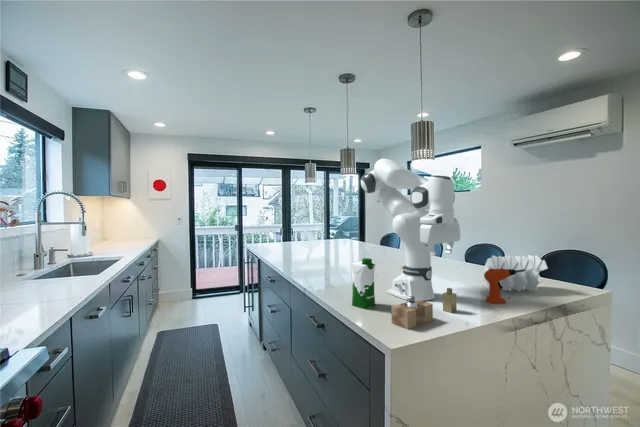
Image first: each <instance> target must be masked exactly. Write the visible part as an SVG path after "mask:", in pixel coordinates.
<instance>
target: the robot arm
mask: <svg viewBox="0 0 640 427" xmlns="http://www.w3.org/2000/svg"><path fill="white" fill-rule="evenodd" d="M453 181H454V180H453V178H452V177H450V176H447V175H435V174H434V175H431V176H430V177H429V179H428V178H425V177H424V176H421V175H419V174H417V173H416V172H413V171H411V170H409V169H408V168H406V167H404V166H403V165H401V164H399V163H397V162H396V161H394V160H392V159H389V158H386V157H385V158H380V159H378V160H377V161H376V162H375V163H374V167H373V170H371V171H369V172H366V173H364V174H363V175H362V176H361V177H360V186H361V188H362V189H363V191H364V192H365V193H367V194H373V193H375V192H376V191H378V200H379V201H380V203H381V205H382V206H383V207H384V209H386V210H387V211H388V213H389V214H390V215H392V217H393V219H392V223H391V226H392V230H393V233H395V234H396V235H397V236H398V238H400V240H401V242H402V244H403V247H404V252H405V253H404V254H405V257H404V258H405V265H404V266H402V267H401V270H402V272H401V274H398V276H397V277H395V278H393V280H392V281H391V287H390V288H388V289H386V293H387V294H389V295H392V296H395V297H396V298H399V299H402V300H405V301H409V296H414V297H415V300H416V299H417V300H420V301H424V302H426V301H431V300H434V299H435V298H436V296H435V293H434V289H433V283H432V276H433V269H432V268H433V267H432V262H431V259H432V258H431V257H436V256H437V251H436V249H435V247H436V245H438V244H445V243H446V244H447V245H446V248H445V254H447V255H449V254H452V252H453V247H454V245H455V242H459V241H460V240H461V228H460V223H459V221H458V219H457V218H456V217H455V208H454V203H455V199H456V197H455V186H454V182H453ZM398 189H401V190H402V189H403V190H411V193H410V199H409V198H407V197H406V196H405V195H404V194H403V193H402V192H400V191H399V190H398Z"/></svg>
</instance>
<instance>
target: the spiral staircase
mask: <svg viewBox="0 0 640 427" xmlns="http://www.w3.org/2000/svg"><path fill="white" fill-rule="evenodd" d="M491 268H492V269H501V268H502V269H507V270H508V269H513V270H522V269H525V271H523V272H518V273H516V274H515V275H511V276H509V277H507V278H505V279H503V280H501V281H499V282H500V284H501V286H502V287H503V288H502V289H501V290H503V291H504V292H507V291H512V289H513V290H516V291H517V292H520V293H521V291H522V290H523V291H524V290H526V289H527V290H529V291H530V292H532V291H533V290H538V287H537V286H538V285H539V284H541V282H540V281H539V275H540V272H542V271H545V270H548V269H549V267H548V265H547V262H546V260H545V259H544V260H542V259H541V258H540V257H539V256H538V255H537V254H535V256H534V255H530V254H527V256H525V255H524V254H522V255H520V256H519V255H515V256H514V255H512V256H509V255H508V254H504V256H501V255H499V256H496V255H494V254H493V255H491V257H489V258H487V259H486V261H485V265H484V268H483V269H484V273H483V275H484V274H485V272H486V271H488V270H489V269H491ZM483 279H484V280H483V281H485V282H484V283H485V285H486V286H487V288H488V289H490V287H489V282H488V281H487V280H486V279H485V278H483Z"/></svg>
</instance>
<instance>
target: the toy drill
mask: <svg viewBox="0 0 640 427" xmlns="http://www.w3.org/2000/svg"><path fill="white" fill-rule="evenodd" d="M523 271H525V269H522V270H513V269H508V270H507V269H502V268H501V269H492V268H491V269H489V270H488V271H486V272H485V274H483V277H484V278H485V279H486V280H487V281H488V282H489V287H490V288H489V293H488V296H486V298H485V301H486V303H488V304H505V303H506V302H507V301H506V299H505V298H504V297H502V296H501V290H503V289H502V288H503V287H502V286H501V284H500V282H499V281H501V280H503V279H505V278H507V277H509V276H511V275H515V274H516V273H518V272H523ZM484 278H483V279H484Z"/></svg>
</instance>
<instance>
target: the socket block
mask: <svg viewBox="0 0 640 427" xmlns="http://www.w3.org/2000/svg"><path fill="white" fill-rule="evenodd" d="M415 301H416V302H417V307H408V306H407V301H406V302H402V303H398V304H396V305H395V304H394V305H391V307H390V308H391V312H390V313H391V324H393V325H394V326H397V327H400V328H403V329H405V330H410V329H412V328H416V327H418V326H421V325H424V324H426V323H429V322H432V321H433V320H434V319H433V318H434V317H433V316H434V314H433V313H434V308H433V306H434V305H433V303H430V302H427V301H420V300H417V299H416V300H415Z"/></svg>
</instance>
